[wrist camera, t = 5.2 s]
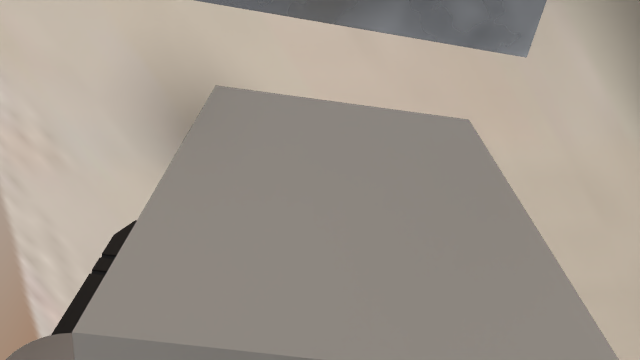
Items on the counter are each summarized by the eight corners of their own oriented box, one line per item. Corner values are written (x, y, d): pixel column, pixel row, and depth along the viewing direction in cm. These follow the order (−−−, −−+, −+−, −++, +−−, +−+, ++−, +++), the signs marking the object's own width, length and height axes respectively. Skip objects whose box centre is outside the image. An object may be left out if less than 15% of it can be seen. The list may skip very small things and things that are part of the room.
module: (468, 119, 10) (643, 400, 4) (400, 362, 12) (454, 716, 7) (215, 85, 9) (68, 337, 4) (203, 340, 12) (106, 689, 7)
